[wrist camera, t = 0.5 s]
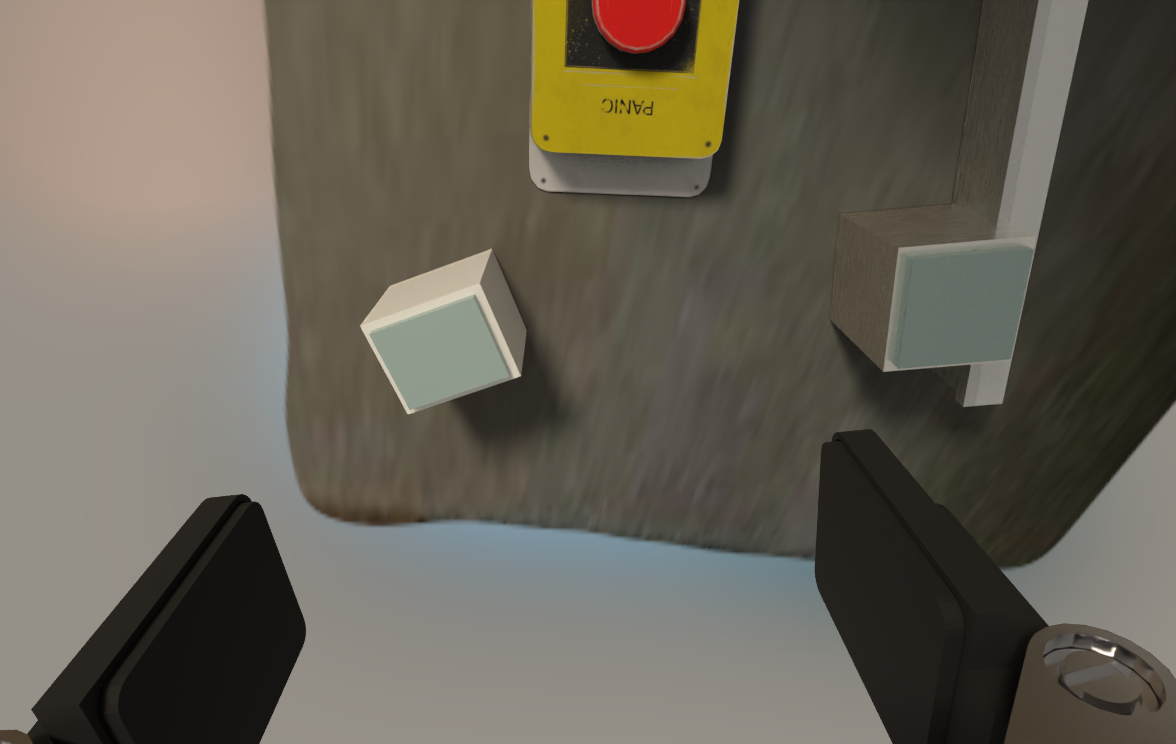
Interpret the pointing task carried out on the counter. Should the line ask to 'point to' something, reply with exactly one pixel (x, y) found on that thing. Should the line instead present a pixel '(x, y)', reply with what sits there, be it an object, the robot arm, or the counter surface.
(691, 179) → the emergency button
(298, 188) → the counter surface
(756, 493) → the counter surface
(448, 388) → the block
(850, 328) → the rail fixture
